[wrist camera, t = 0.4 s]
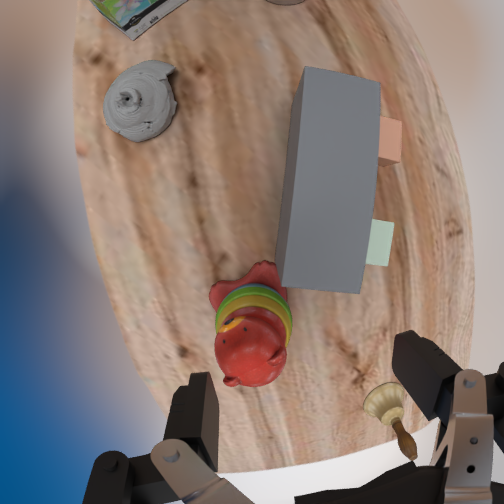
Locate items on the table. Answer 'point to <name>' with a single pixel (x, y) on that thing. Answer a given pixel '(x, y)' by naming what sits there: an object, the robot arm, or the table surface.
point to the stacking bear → (251, 326)
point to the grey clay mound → (140, 101)
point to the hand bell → (391, 414)
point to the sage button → (379, 242)
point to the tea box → (135, 13)
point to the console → (329, 182)
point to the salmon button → (389, 141)
